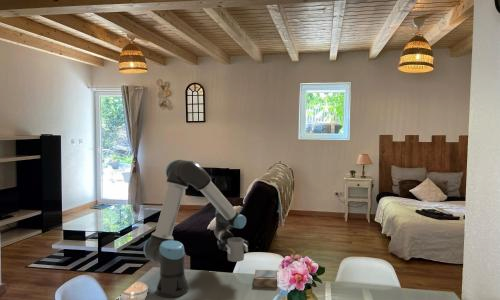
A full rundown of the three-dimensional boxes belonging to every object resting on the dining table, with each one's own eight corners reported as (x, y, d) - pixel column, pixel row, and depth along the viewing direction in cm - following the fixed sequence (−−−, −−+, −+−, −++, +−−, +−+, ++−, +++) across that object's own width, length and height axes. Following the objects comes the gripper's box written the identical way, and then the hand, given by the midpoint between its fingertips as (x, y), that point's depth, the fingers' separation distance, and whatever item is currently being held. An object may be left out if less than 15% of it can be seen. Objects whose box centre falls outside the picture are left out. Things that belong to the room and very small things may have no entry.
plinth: (253, 286, 186) (253, 277, 186) (255, 277, 198) (255, 269, 198) (277, 287, 185) (277, 278, 184) (278, 277, 197) (278, 269, 196)
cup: (244, 256, 194) (244, 237, 194) (243, 261, 186) (242, 242, 186) (228, 256, 195) (228, 237, 195) (226, 261, 187) (226, 241, 186)
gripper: (244, 242, 211) (258, 255, 190) (207, 246, 204) (217, 259, 183) (244, 229, 211) (258, 240, 189) (207, 233, 204) (217, 244, 182)
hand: (238, 250), depth 186 cm, fingers closed on cup, 8 cm apart
